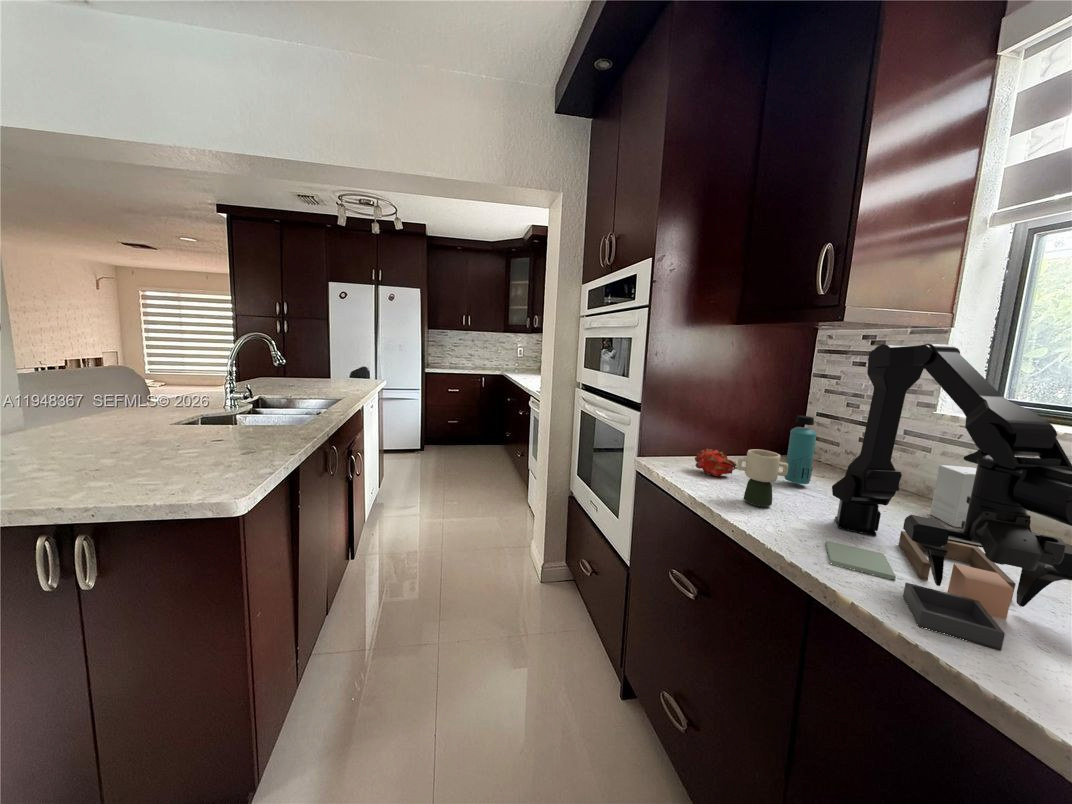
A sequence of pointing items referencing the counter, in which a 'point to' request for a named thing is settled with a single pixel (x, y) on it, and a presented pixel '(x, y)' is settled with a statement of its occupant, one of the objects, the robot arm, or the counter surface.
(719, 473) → the dragon fruit
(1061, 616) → the counter surface
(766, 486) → the character mug
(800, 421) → the beverage bottle
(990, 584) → the block
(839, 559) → the mat
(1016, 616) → the counter surface
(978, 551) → the stall
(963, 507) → the supplement box
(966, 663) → the counter surface
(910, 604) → the tray
